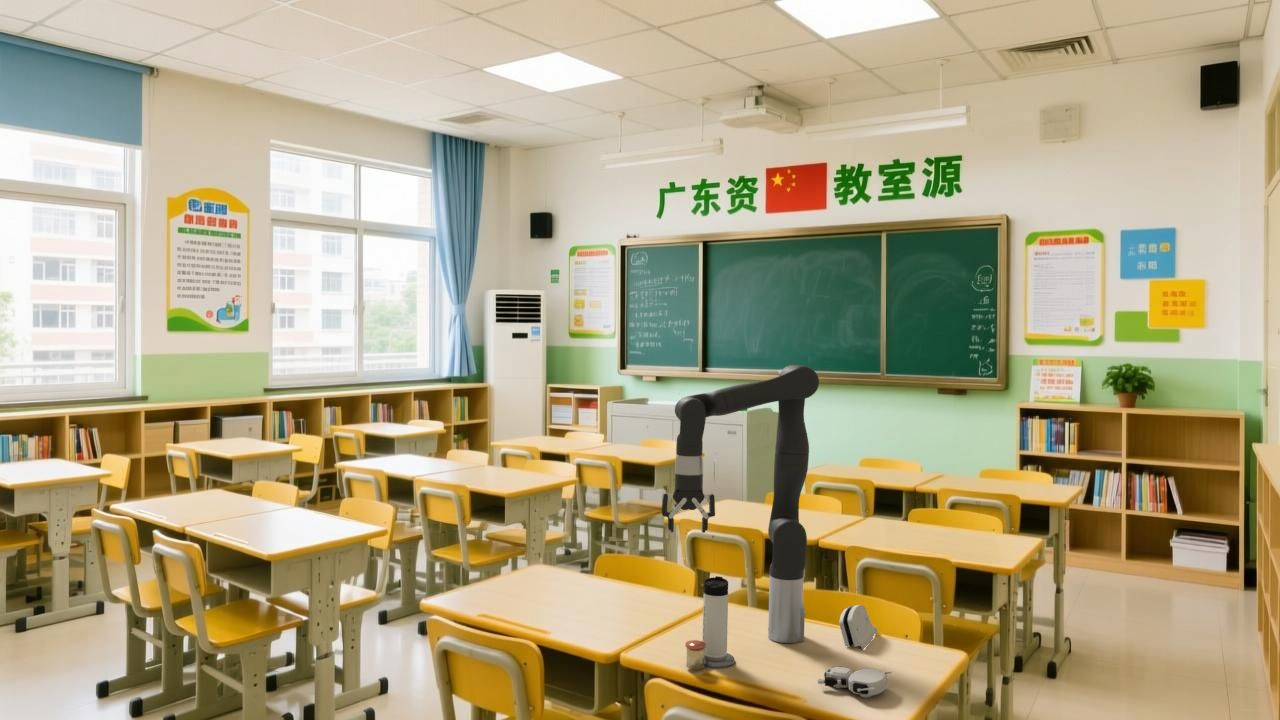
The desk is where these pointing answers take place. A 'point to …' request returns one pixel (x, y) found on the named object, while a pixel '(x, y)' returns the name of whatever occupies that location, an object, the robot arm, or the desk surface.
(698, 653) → the grey base with jar
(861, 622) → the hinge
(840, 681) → the robot toy
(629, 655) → the desk surface
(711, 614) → the travel mug
